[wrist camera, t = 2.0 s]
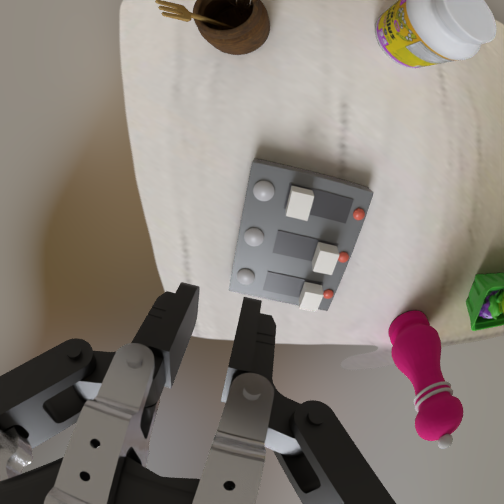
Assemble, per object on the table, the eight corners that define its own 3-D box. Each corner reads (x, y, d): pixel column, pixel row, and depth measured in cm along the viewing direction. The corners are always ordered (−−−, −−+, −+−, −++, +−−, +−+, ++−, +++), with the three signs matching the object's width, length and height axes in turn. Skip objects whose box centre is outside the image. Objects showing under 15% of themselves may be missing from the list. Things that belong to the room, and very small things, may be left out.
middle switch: (318, 241, 28) (320, 250, 26) (336, 246, 28) (339, 254, 26) (311, 261, 29) (312, 271, 27) (329, 265, 29) (331, 275, 27)
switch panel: (254, 158, 27) (251, 162, 25) (368, 187, 26) (374, 193, 25) (231, 280, 34) (228, 291, 32) (325, 300, 34) (327, 311, 32)
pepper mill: (379, 321, 35) (412, 454, 17) (424, 299, 32) (479, 423, 15) (391, 349, 37) (418, 465, 20) (432, 329, 35) (473, 440, 17)
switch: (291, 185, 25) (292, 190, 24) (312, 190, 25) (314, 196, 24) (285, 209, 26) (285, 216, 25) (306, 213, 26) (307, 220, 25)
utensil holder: (281, 43, 21) (277, -3, 10) (220, 66, 22) (175, 40, 12) (256, -2, 18) (236, -61, 8) (197, 22, 20) (144, -20, 9)
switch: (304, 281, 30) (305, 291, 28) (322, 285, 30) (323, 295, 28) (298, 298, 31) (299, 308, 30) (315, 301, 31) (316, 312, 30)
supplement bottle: (380, 2, 16) (434, -47, 5) (435, 33, 17) (508, 10, 5) (365, 50, 20) (422, 14, 8) (422, 80, 20) (501, 75, 9)
